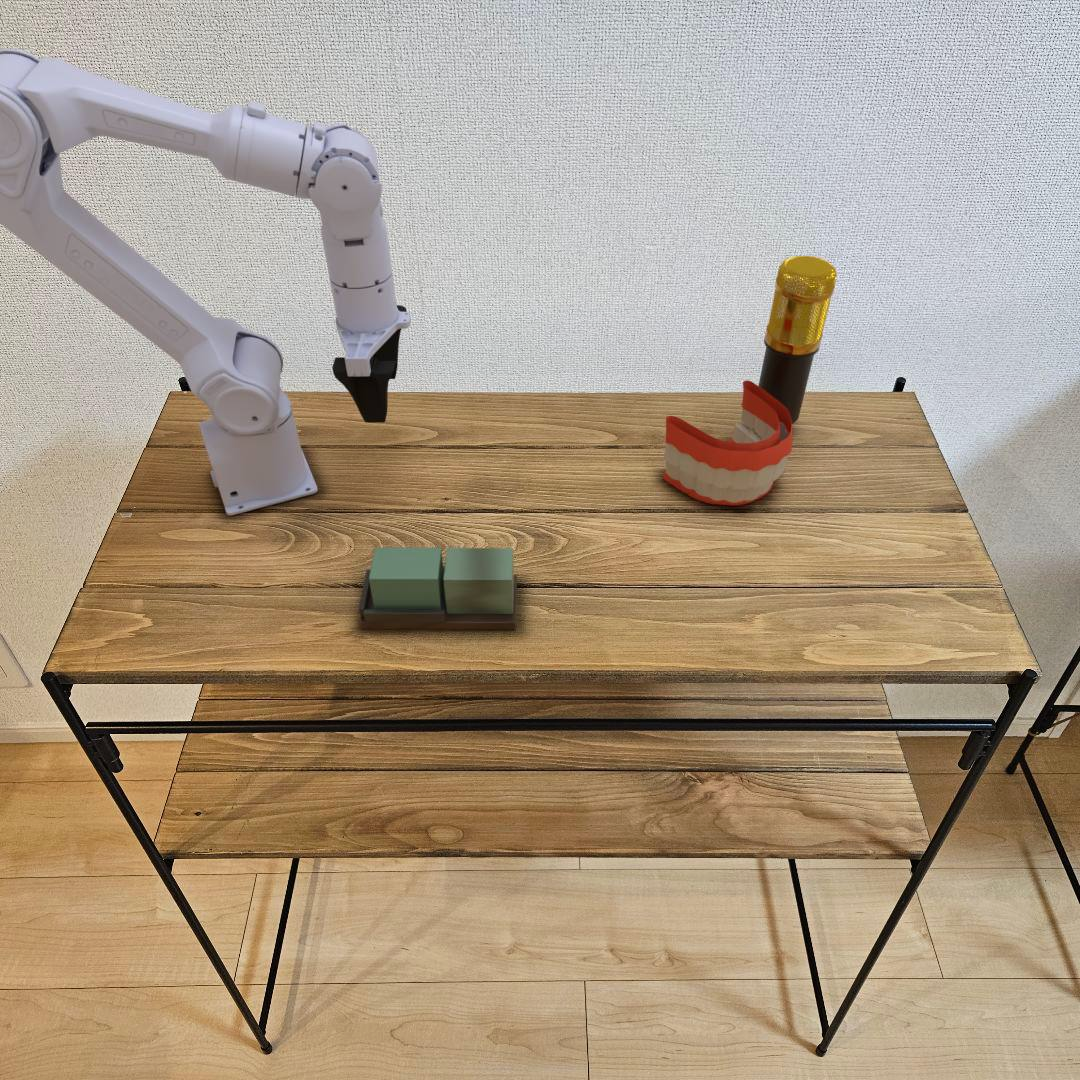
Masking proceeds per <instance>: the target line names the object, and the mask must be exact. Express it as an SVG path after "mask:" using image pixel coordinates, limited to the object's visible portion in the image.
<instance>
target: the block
mask: <svg viewBox="0 0 1080 1080" xmlns="http://www.w3.org/2000/svg"><path fill="white" fill-rule="evenodd" d="M443 566H444V562H443V550H442V547H409V546H408V547H402V546H401V547H394V546H393V547H390V546H389V547H388V546H387V547H386V546H385V547H384V546H382V547H375V546H374V551H373V556H372V561H371V566H370V570H371V571H370V576H369V582H370V587H371V593H372V598H373V604H374V609H375V610H442V603H443V593H444V580H443V579H444V570H443Z"/></svg>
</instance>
